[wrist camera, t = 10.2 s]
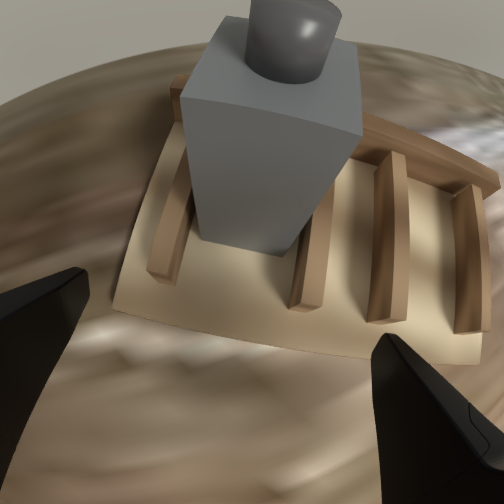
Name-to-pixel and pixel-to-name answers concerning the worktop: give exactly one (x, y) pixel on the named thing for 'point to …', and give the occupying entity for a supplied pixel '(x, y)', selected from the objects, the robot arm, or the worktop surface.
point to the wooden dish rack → (329, 255)
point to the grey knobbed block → (270, 122)
